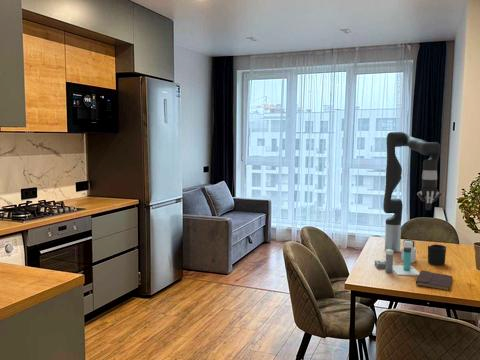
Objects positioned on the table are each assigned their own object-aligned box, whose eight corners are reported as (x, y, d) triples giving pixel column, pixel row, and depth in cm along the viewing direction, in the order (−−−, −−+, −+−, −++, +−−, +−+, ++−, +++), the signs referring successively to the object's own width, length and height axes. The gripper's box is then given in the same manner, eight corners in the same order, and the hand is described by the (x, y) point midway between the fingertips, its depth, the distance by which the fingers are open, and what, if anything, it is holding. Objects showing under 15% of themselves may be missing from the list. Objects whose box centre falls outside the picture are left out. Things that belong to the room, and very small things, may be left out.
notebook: (452, 279, 215) (452, 275, 214) (450, 290, 197) (450, 286, 197) (420, 273, 222) (420, 269, 222) (415, 284, 205) (415, 280, 204)
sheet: (389, 266, 237) (389, 265, 237) (411, 266, 236) (411, 265, 236) (397, 275, 221) (397, 274, 221) (421, 275, 220) (421, 274, 220)
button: (379, 265, 238) (379, 260, 237) (384, 265, 237) (384, 260, 237) (380, 267, 235) (380, 262, 235) (385, 267, 234) (386, 262, 234)
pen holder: (447, 266, 237) (448, 248, 236) (429, 265, 239) (430, 247, 238) (442, 261, 246) (443, 244, 245) (425, 260, 248) (426, 244, 247)
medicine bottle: (402, 258, 253) (403, 238, 252) (415, 260, 250) (416, 239, 249) (400, 261, 247) (401, 240, 246) (413, 263, 244) (414, 242, 243)
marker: (402, 268, 230) (402, 247, 229) (409, 268, 230) (410, 247, 229) (404, 270, 227) (404, 248, 226) (411, 271, 226) (412, 248, 225)
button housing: (374, 264, 240) (374, 260, 240) (387, 265, 239) (387, 260, 239) (377, 268, 233) (377, 264, 233) (390, 268, 232) (390, 264, 232)
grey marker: (384, 271, 228) (384, 249, 227) (391, 271, 228) (392, 249, 227) (386, 273, 224) (386, 251, 223) (393, 273, 224) (394, 251, 223)
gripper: (439, 178, 237) (438, 208, 239) (415, 178, 239) (414, 208, 240) (444, 179, 230) (443, 210, 231) (419, 179, 231) (418, 210, 233)
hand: (428, 209), depth 236 cm, fingers closed
